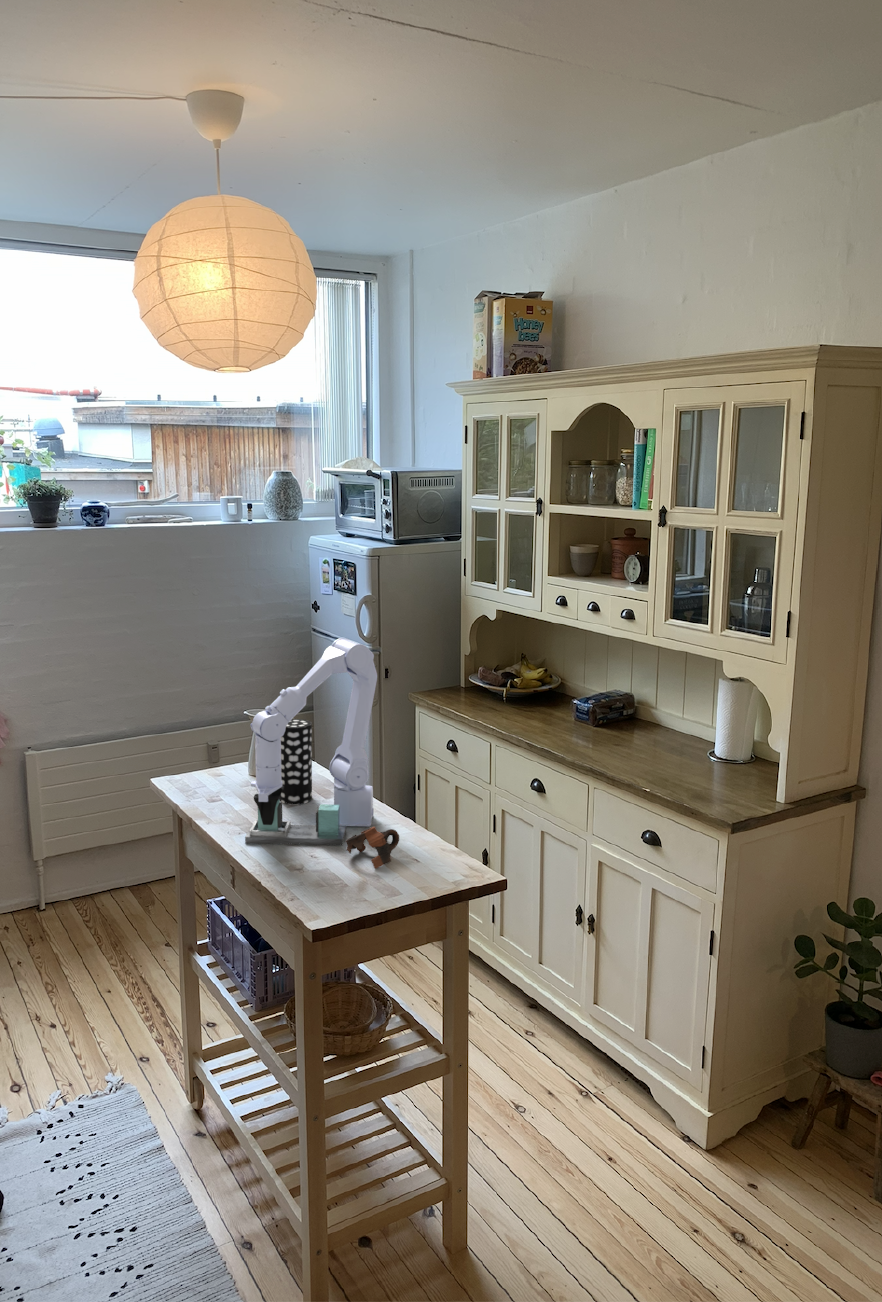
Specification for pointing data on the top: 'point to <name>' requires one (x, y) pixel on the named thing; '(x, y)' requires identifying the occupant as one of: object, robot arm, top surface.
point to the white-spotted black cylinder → (296, 762)
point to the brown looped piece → (375, 844)
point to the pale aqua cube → (276, 821)
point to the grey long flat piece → (303, 830)
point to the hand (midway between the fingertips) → (269, 820)
